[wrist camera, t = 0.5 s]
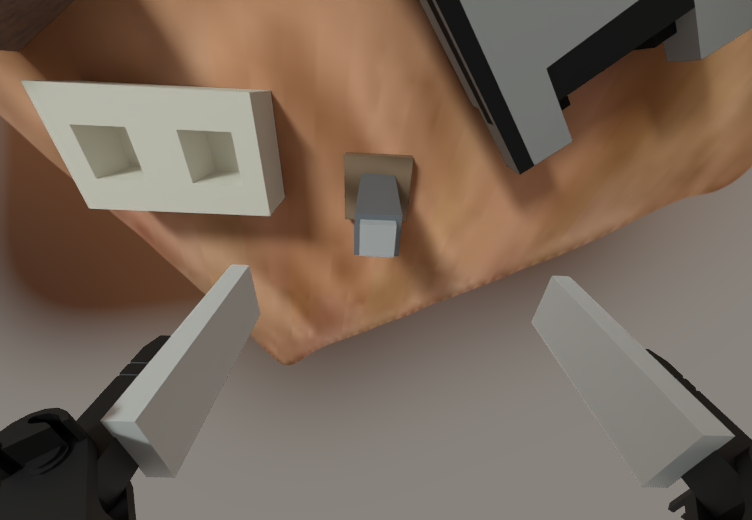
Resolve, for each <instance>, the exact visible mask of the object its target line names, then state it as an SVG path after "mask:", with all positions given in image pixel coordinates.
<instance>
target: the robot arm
mask: <svg viewBox="0 0 752 520" xmlns="http://www.w3.org/2000/svg"><path fill="white" fill-rule="evenodd" d="M259 316H260V310H259V306H258V301H257V297H256V293H255V288H254V284H253V280H252V275H251V271H250V266H249V265H230V267H229V268H228V269H227V270H226V271H225V273H224V274H223V275H222V276H221V277H220V279H219V280H218V281H217V282H216V283H215V284H214V286H213V287H212V288H211V289H210V290H209V292H208V293H207V294H206V295H205V296H204V298H203V299H202V300H201V301H200V303H199V304H198V305H197V306H196V307H195V308H194V310H193V311H192V312H191V313H190V314H189V315H188V317H187V318H186V319H185V320H184V321H183V323H182V324H181V325H180V326H179V327H178V329H177V330H176V331H175V332H174V333H173V335H172V336H159V337H158V338H156V339H155V340H153V341H152V342H150V343H149V344H148V345H146V346H145V347H143V348H142V349H141V350H140V352H139V353H138V354H137V355H136V356H135V357H134V358H133V359H132V360H131V363H130V364H128V365H127V366H126V367H125V368H124V369H123V370H122V371H121V372H120V375H119V376H117V377H116V378H115V379H114V380H113V381H112V382H111V383H110V385H109V386H108V387H107V388H106V389H105V390H104V391H103V392H102V393H101V394H100V396H99V397H98V398H97V399H96V400H95V401H94V402H93V403H92V404H91V405H90V407H89V408H88V409H87V410H86V411H85V412H84V413H83V414H82V415H81V416H80V418H79V419H78V420H77V421H75V420H74V419H73V417H72V416H71V415H70V414H69V413H68V412H67V411H65V410H63V409H60V408H50V409H44V410H41V411H38V412H34V413H31V414H29V415H27V416H25V417H23V418H21V419H19V420H17V421H15V422H13V423H12V424H10V425H9V426H7V427H6V428H5V429H3V430H2V431H0V520H136V514H135V504H134V493H133V486H132V484H131V482H130V480H131V478H132V476H133V475H134V473H135V472H136V470H137V468H138V467H139V468H140V469H141V471H142V472H143V473H144V474H145V475H146V477H174V478H175V476H176V475H177V473H178V471H179V469H180V467H181V465H182V463H183V461H184V459H185V457H186V455H187V453H188V452H189V450H190V448H191V446H192V444H193V442H194V440H195V438H196V436H197V434H198V432H199V431H200V429H201V427H202V425H203V423H204V421H205V419H206V417H207V415H208V413H209V411H210V409H211V408H212V406H213V404H214V402H215V400H216V398H217V396H218V394H219V392H220V390H221V388H222V386H223V385H224V383H225V380H226V379H227V377H228V375H229V373H230V371H231V369H232V367H233V365H234V363H235V361H236V360H237V358H238V356H239V354H240V352H241V350H242V348H243V346H244V344H245V342H246V340H247V338H248V337H249V335H250V333H251V331H252V329H253V327H254V325H255V323H256V321H257V319H258V317H259ZM532 324H533V326H534V327H535V329H536V330H537V332H538V333H539V335H540V336H541V338H542V339H543V341H544V342H545V344H546V345H547V347H548V348H549V349H550V351H551V353H552V354H553V355H554V357H555V359H556V360H557V361H558V363H559V365H560V366H561V367H562V369H563V371H564V372H565V373H566V375H567V376H568V378H569V379H570V381H571V382H572V384H573V385H574V387H575V388H576V390H577V391H578V393H579V394H580V396H581V397H582V399H583V400H584V402H585V403H586V405H587V406H588V408H589V409H590V411H591V412H592V414H593V415H594V417H595V418H596V420H597V421H598V423H599V424H600V426H601V427H602V429H603V430H604V432H605V433H606V435H607V436H608V438H609V439H610V441H611V442H612V444H613V445H614V447H615V448H616V450H617V451H618V453H619V454H620V456H621V457H622V459H623V460H624V462H625V463H626V465H627V466H628V468H629V469H630V471H631V472H632V474H633V475H634V477H635V478H636V480H637V481H638V482H639V484H640V486H641V487H663V488H664V487H666V488H668V487H669V486H670V485H672V484H673V483H674V482H676V481H677V480H678V479H680V478H682V479H683V480H684V481H685V482H686V484H687V485H688V486H689V488H690V489H689V490H687V491H686V492H684V493H683V494H682V495H680V496H679V497H677V498H676V499H675V500H673V501H672V502H671V503H670V504H669V508H668V509H669V510H670V511H672V512H675V511H676V510H678V509H679V508H681V507H682V506H685V512H686V513H684V514H683V515H682V516H681V518H683V519H684V520H752V440H751V439H750V438H749V437H748V436H747V435H746V434H745V433H744V432H743V431H742V430H740V429H739V428H738V427H737V426H736V425H735V424H734V423H733V422H732V421H731V420H730V419H729V418H728V417H726V416H725V415H724V414H723V413H722V412H721V411H720V410H719V409H718V408H717V407H716V406H715V405H713V404H712V403H711V402H710V401H709V400H708V399H707V398H706V397H705V396H704V395H703V394H701V392H700V391H696V388H695V387H694V386H693V385H692V384H691V383H690V382H689V381H688V380H687V379H684V378H683V376H682V375H681V374H680V373H679V372H678V371H677V370H676V369H675V368H674V367H673V366H672V365H671V364H670V363H668V362H667V361H666V360H664V359H663V358H661V357H660V356H658V355H657V354H655V353H654V352H652V351H650V350H649V349H644V348H643V347H642V346H641V345H640V344H639V343H638V342H637V341H636V340H635V339H634V338H633V337H632V336H631V335H630V334H629V333H628V332H627V331H626V330H624V329H623V328H622V327H621V326H620V325H619V324H618V323H617V322H616V321H615V320H614V319H613V318H612V317H611V316H610V315H609V314H608V313H607V312H606V311H605V310H603V308H602V307H601V306H600V305H598V304H597V303H596V302H595V301H594V300H593V299H592V298H591V297H590V296H589V295H588V294H587V293H586V292H585V291H584V290H583V289H582V288H581V287H580V286H579V285H578V284H577V283H576V282H575V281H574V280H572V279H571V278H570V277H569V276H552V277H551V279H550V281H549V284H548V286H547V288H546V291H545V293H544V295H543V297H542V300H541V302H540V304H539V306H538V309H537V311H536V313H535V315H534V318H533V320H532Z"/></svg>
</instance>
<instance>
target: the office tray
mask: <svg viewBox="0 0 752 520" xmlns="http://www.w3.org/2000/svg"><path fill="white" fill-rule="evenodd" d="M419 1H420V3H421V5H422V7H423V9H424V11H425V13H426V15H427V17H428V19H429V21H430V23H431V25H432V27H433V29H434V31H435V33H436V35H437V37H438V39H439V41H440V42H441V44H442V46H443V48H444V50H445V52H446V54H447V56H448V58H449V60H450V62H451V64H452V66H453V68H454V70H455V72H456V74H457V76H458V78H459V80H460V82H461V84H462V86H463V88H464V90H465V92H466V93H467V95H468V97H469V99H470V101H471V103H472V105H473V106H474V107H477V108H478V109H479V111H480V113H481V115H482V117H483V119H484V121H485V123H486V125H487V127H488V129H489V131H490V133H491V135H492V137H493V139H494V141H495V143H496V145H497V147H498V149H499V151H500V153H501V154H502V156H503V158H504V160H505V162H506V164H507V166H508V167H509V168H511V169H512V170H514V171H515V172H517V173H518V174H522V173H523V172H525V171H527V170H528V169H530V168H531V167H533V166H534V165H536V164H538V163H539V162H541V161H542V160H544V159H545V158H547V157H549V156H550V155H552V154H553V153H555V152H557V151H558V150H560V149H561V148H563V147H564V146H566V145H568V144H569V143H571V142H572V138H571V135H570V132H569V130H568V127H567V124H566V121H565V119H564V116H563V113H562V110H563V109H565V108H566V107H568V106H569V105H570V102H569V99H568V96H567V95H568V94H570V93H571V92H573V91H574V90H576V89H577V88H579V87H580V86H581V85H583V84H584V83H586V82H587V81H589V80H590V79H592V78H593V77H595V76H596V75H597V74H599V73H600V72H602V71H603V70H605V69H606V68H608V67H609V66H610V65H612V64H613V63H615V62H616V61H618V60H619V59H621V58H622V57H623V56H625V55H626V54H628V53H629V52H631V51H632V50H638V49H646V48H655V47H656V46H658V45H659V44H661V43H662V42H663V44H664V50H665V56H666V62H676V61H692V60H702V59H704V58H705V57H707V56H708V55H710V54H711V53H713V52H715V51H716V50H718V49H719V48H721V47H722V46H724V45H726V44H727V43H729V42H730V41H732V40H734V39H735V38H737V37H738V36H740V35H741V34H743V33H745V32H746V31H748V30H749V29H751V28H752V0H419Z"/></svg>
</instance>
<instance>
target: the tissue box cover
mask: <svg viewBox="0 0 752 520" xmlns="http://www.w3.org/2000/svg"><path fill="white" fill-rule="evenodd" d="M73 1H74V0H0V50H4V51H17V52H19V51H20V50H21V49H22V48H23V47H25V46H26V45H27V44H28V43H29V42H30V41H31V40H32V39H33V38H34V37H35V36H36V35H37V34H39V33H40V32H41V31H42V30H43V29H44V28H45V27H46V26H47V25H48V24H49V23H50V22H51V21H53V20H54V19H55V18H56V17H57V16H58V15H59V14H60V13H61V12H62V11H63V10H64V9H65V8H66V7H68V6H69V5H70V4H71V3H72V2H73Z"/></svg>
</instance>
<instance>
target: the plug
mask: <svg viewBox="0 0 752 520" xmlns="http://www.w3.org/2000/svg"><path fill="white" fill-rule="evenodd" d="M401 225H402V211H401V205H400V200H399V195H398V189H397V184H396V179H395V175H382V174H361V179H360V185H359V191H358V196H357V202H356V208H355V225H354V254H355V255H359V256H376V257H394V256H398V254H399V244H400V234H401Z"/></svg>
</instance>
